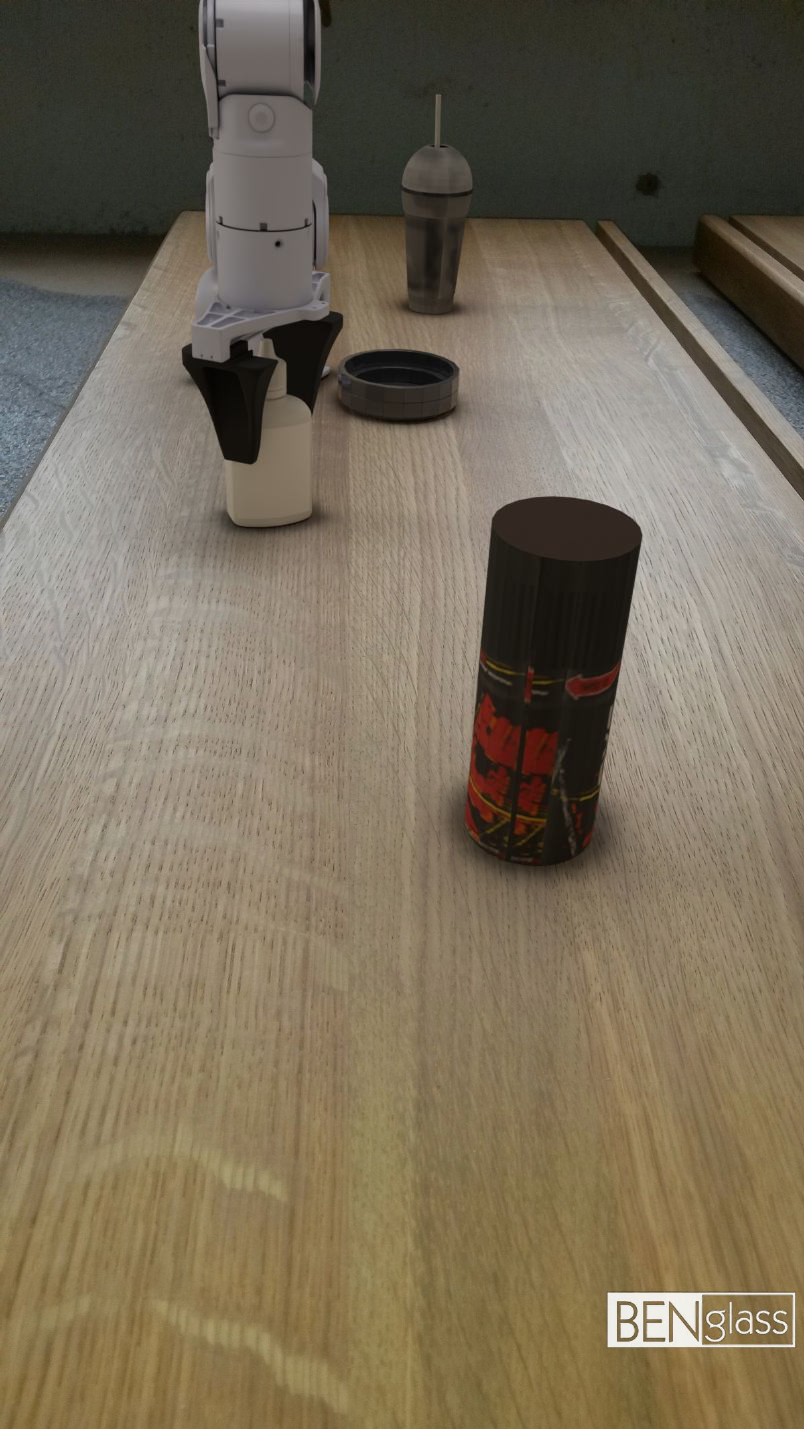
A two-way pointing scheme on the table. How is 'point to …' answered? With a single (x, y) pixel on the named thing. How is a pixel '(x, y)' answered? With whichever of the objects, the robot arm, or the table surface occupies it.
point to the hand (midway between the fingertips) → (268, 440)
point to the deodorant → (548, 674)
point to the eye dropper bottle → (275, 460)
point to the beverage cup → (434, 222)
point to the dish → (398, 384)
